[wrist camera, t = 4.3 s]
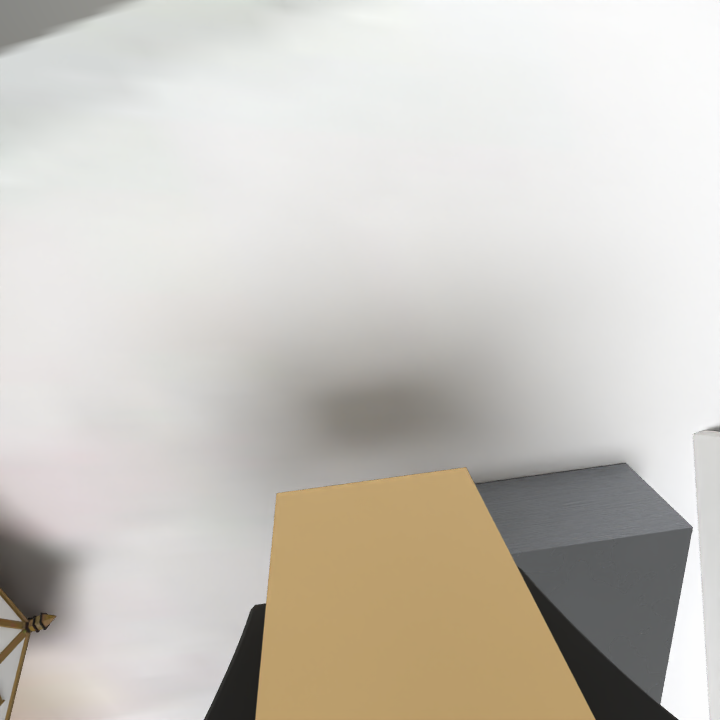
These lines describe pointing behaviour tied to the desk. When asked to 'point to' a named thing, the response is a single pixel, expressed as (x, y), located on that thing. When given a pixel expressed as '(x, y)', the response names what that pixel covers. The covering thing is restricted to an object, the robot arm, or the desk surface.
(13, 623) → the game die
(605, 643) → the charcoal stand
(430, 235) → the desk surface
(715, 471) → the grey v-shaped trough
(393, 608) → the ochre block
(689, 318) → the desk surface
